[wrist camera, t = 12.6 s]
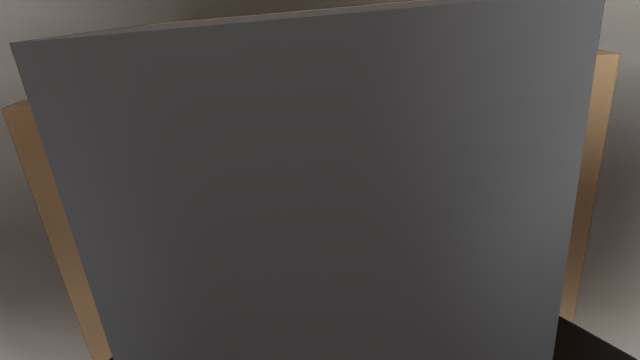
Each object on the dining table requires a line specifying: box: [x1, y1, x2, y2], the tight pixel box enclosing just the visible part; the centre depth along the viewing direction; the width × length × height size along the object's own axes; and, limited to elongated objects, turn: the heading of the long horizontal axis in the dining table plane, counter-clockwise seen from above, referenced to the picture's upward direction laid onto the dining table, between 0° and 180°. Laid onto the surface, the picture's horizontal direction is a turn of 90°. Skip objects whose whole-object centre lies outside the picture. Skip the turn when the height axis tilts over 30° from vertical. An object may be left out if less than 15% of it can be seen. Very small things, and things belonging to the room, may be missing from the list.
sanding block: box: [10, 0, 605, 360], centre depth 7 cm, size 8×5×4 cm, turn 5°
